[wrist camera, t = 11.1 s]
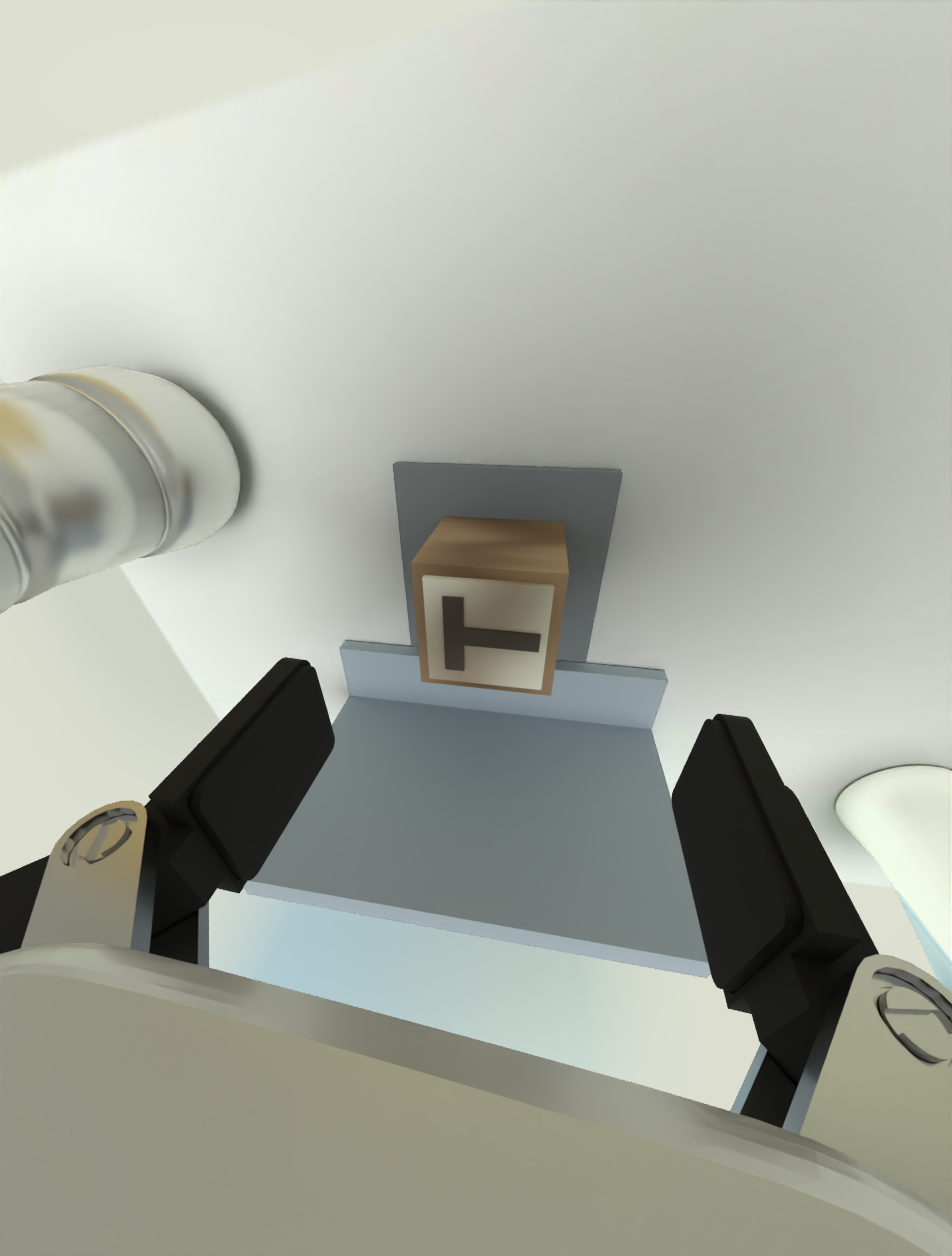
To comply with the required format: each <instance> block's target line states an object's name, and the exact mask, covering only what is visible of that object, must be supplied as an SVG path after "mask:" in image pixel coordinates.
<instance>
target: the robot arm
mask: <svg viewBox="0 0 952 1256" xmlns="http://www.w3.org/2000/svg"><path fill="white" fill-rule="evenodd" d="M334 744H335V736H334V732H333V729H332V725H331V722H330V718H329V715H328V711H327V708H326V704H325V701H324V697H323V694H322V690H321V687H320V683H319V680H318V676H317V673H316V670H315V668H314V667H311V665H310V663H309V662H308V661H307V660H301V659H293V658H286V657H285V658H282V659H281V660H279V661H278V662H277V663H276V664H275V665H274V666H273V668H272V669H271V670H270V671H269V672H268V673H267V674H266V675H265V676H264V677H263V678H262V679H261V680H260V681H259V682H258V683H257V684H256V685H255V686H254V687H253V688H252V689H251V690H250V691H249V692H248V693H247V694H246V695H245V697H244V698H243V699H242V700H241V701H240V702H239V703H238V704H237V705H236V706H235V707H234V708H233V709H232V710H231V711H230V712H229V713H228V714H227V715H226V716H225V717H224V718H223V719H222V720H221V721H220V722H219V723H218V725H217V726H216V727H215V728H214V729H213V730H212V731H211V732H210V733H209V734H208V735H207V736H206V737H205V738H204V739H203V740H202V741H201V742H200V743H199V744H198V745H197V746H196V747H195V748H194V749H193V751H191V752H190V754H189V755H188V756H187V757H186V758H185V759H184V760H183V761H182V762H181V763H180V764H179V765H178V766H177V767H176V768H175V769H174V770H173V771H172V772H171V773H170V775H168V776H167V777H166V778H165V779H164V780H163V782H161V784H160V785H159V786H158V787H157V788H156V789H155V790H154V791H153V792H152V793H151V794H150V795H149V798H150V799H151V800H150V801H149V802H148V803H147V804H146V805H145V806H143V805H142V804H141V803H138V802H135V801H119V802H115V803H112V804H108V805H105V806H103V807H101V808H99V809H97V810H94V811H93V812H91V813H89V814H88V815H86V816H85V817H83V818H81V819H80V820H79V821H77V822H76V823H75V824H74V825H73V826H71V827H70V828H69V829H68V830H67V831H66V832H65V833H64V834H63V836H62V837H61V838H60V839H59V840H58V842H57V843H56V844H55V846H54V848H53V850H52V852H51V854H50V855H49V856H46V857H44V858H42V859H39V860H37V861H35V862H32V863H30V864H28V865H26V866H23V867H21V868H19V869H17V870H14V871H12V872H10V873H7V874H5V875H3V876H0V1256H952V992H951V991H950V990H948V989H947V988H946V987H945V986H944V985H942V984H941V983H940V982H939V981H938V980H936V979H935V978H934V977H933V976H931V975H929V974H928V973H926V972H924V971H923V970H921V969H920V968H918V967H917V966H915V965H913V964H912V963H909V962H906V961H904V960H901V959H899V958H896V957H894V956H888V955H880V954H879V953H878V951H877V949H876V947H875V945H874V943H873V941H872V939H871V937H870V936H869V934H868V932H867V930H866V928H865V926H864V924H863V922H862V920H861V918H860V916H859V914H858V913H857V911H856V909H855V907H854V905H853V903H852V901H851V899H850V897H849V896H848V894H847V892H846V890H845V888H844V886H843V884H842V882H841V880H840V878H839V876H838V874H837V873H836V871H835V869H834V867H833V865H832V863H831V861H830V859H829V857H828V855H827V854H826V852H825V850H824V848H823V846H822V844H821V842H820V840H819V838H818V836H817V834H816V833H815V831H814V829H813V827H812V825H811V823H810V821H809V819H808V817H807V815H806V814H805V812H804V810H803V808H802V806H801V804H800V802H799V800H798V798H797V797H796V796H795V794H794V793H793V791H792V790H790V789H789V788H788V787H787V786H785V785H784V783H783V781H782V779H781V777H780V775H779V773H778V771H777V769H776V768H775V766H774V764H773V762H772V760H771V758H770V756H769V754H768V752H767V750H766V748H765V746H764V744H763V742H762V740H761V738H760V736H759V734H758V732H757V730H756V728H755V726H754V724H753V723H752V721H751V720H750V719H749V718H747V717H740V716H733V715H725V714H717V715H715V717H714V718H713V720H712V719H707V720H706V721H705V722H704V724H703V726H702V729H701V731H700V733H699V735H698V737H697V740H696V742H695V744H694V746H693V748H692V751H691V753H690V755H689V757H688V759H687V761H686V764H685V766H684V768H683V770H682V772H681V775H680V777H679V779H678V781H677V783H676V786H675V788H674V790H673V793H672V809H673V813H674V818H675V822H676V826H677V831H678V835H679V839H680V843H681V848H682V852H683V856H684V861H685V865H686V869H687V873H688V878H689V882H690V886H691V891H692V895H693V899H694V903H695V908H696V912H697V916H698V921H699V925H700V929H701V933H702V938H703V942H704V946H705V951H706V955H707V959H708V964H709V968H710V972H711V975H712V978H713V981H714V983H715V985H716V986H717V987H718V988H720V989H723V990H724V994H725V998H726V1002H727V1007H728V1009H733V1010H737V1011H742V1012H745V1013H750V1014H752V1017H753V1021H754V1024H755V1028H756V1031H757V1034H758V1038H759V1041H760V1043H761V1045H760V1046H759V1049H758V1051H757V1053H756V1056H755V1058H754V1060H753V1062H752V1064H751V1066H750V1069H749V1071H748V1073H747V1075H746V1078H745V1080H744V1082H743V1084H742V1086H741V1089H740V1091H739V1093H738V1095H737V1097H736V1100H735V1102H734V1104H733V1106H732V1109H731V1111H727V1110H724V1109H720V1108H717V1107H714V1106H710V1105H707V1104H704V1103H700V1102H697V1101H693V1100H690V1099H687V1098H683V1097H680V1096H676V1095H673V1094H670V1093H666V1092H663V1091H660V1090H656V1089H653V1088H650V1087H646V1086H643V1085H639V1084H636V1083H632V1082H628V1081H625V1080H621V1079H617V1078H614V1077H610V1076H607V1075H603V1074H599V1073H596V1072H592V1071H588V1070H585V1069H581V1068H577V1067H574V1066H570V1065H567V1064H563V1063H559V1062H556V1061H552V1060H549V1059H545V1058H541V1057H538V1056H534V1055H531V1054H527V1053H523V1052H520V1051H516V1050H512V1049H509V1048H505V1047H502V1046H498V1045H494V1044H491V1043H487V1042H483V1041H480V1040H476V1039H472V1038H469V1037H465V1036H461V1035H457V1034H453V1033H450V1032H446V1031H443V1030H439V1029H436V1028H432V1027H428V1026H424V1025H421V1024H417V1023H413V1022H410V1021H406V1020H402V1019H399V1018H395V1017H391V1016H388V1015H383V1014H380V1013H376V1012H373V1011H369V1010H365V1009H362V1008H358V1007H354V1006H351V1005H347V1004H343V1003H340V1002H336V1001H332V1000H328V999H324V998H321V997H317V996H313V995H310V994H306V993H302V992H298V991H294V990H291V989H287V988H283V987H279V986H275V985H272V984H268V983H264V982H261V981H257V980H253V979H249V978H246V977H242V976H238V975H234V974H230V973H227V972H223V971H219V970H216V969H212V968H209V899H210V898H211V896H212V895H213V893H214V892H215V890H216V889H217V888H218V889H223V890H227V891H231V892H235V893H240V892H241V890H242V889H243V887H244V886H245V884H246V882H247V881H248V880H252V879H253V878H254V877H255V876H256V875H257V874H258V872H259V871H260V869H261V868H262V866H263V864H264V863H265V861H266V859H267V858H268V856H269V854H270V853H271V851H272V850H273V848H274V846H275V845H276V843H277V841H278V840H279V838H280V836H281V835H282V833H283V831H284V830H285V828H286V826H287V825H288V823H289V821H290V820H291V818H292V816H293V815H294V813H295V812H296V810H297V808H298V807H299V805H300V803H301V802H302V800H303V798H304V797H305V795H306V793H307V792H308V790H309V788H310V787H311V785H312V783H313V782H314V780H315V779H316V777H317V775H318V774H319V772H320V770H321V769H322V767H323V765H324V764H325V762H326V760H327V759H328V757H329V755H330V754H331V752H332V750H333V748H334Z"/></svg>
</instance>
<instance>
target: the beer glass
mask: <svg viewBox="0 0 952 1256" xmlns="http://www.w3.org/2000/svg"><path fill="white" fill-rule="evenodd" d="M835 810H836V813H837V816H838V818H839V819H840V821H841V822H842V824H843V825H844V826H845V827H846V828H847V829H848V830H849V832H850V833H851V834H852V835H853V836H854V837H855V838H856V839H857V840H858V841H859V842H860V844H861V845H862V846H863V847H864V848H865V849H866V850H867V851H868V852H869V854H870V855H871V856H872V857H873V858H874V860H875V861H876V862H877V863H878V865H879V866H880V868H881V869H882V870H883V872H884V873H885V875H886V876H887V878H888V879H889V881H890V883H891V884H892V886H893V888H894V889H895V891H896V893H897V894H898V896H899V898H900V900H901V902H902V904H903V906H904V909H905V910H906V913H907V915H908V917H909V919H910V921H911V923H912V925H913V927H914V930H915V932H916V934H917V936H918V938H919V940H920V943H921V945H922V947H923V950H924V952H925V954H926V956H927V958H928V960H929V962H930V965H931V967H932V969H933V971H934V973H935V975H936V977H937V980H938V981H939V982H940V983H941V984H942V985H944V986H945V987H946V988H947V989H948V990H950V991H951V992H952V770H949V769H945V768H940V767H935V766H923V765H914V766H902V767H895V768H890V769H886V770H882V771H878V772H875V773H872V774H870V775H867V776H865V777H863V778H861V779H859V780H857V781H855V782H854V783H852V784H851V785H849V786H848V787H847V788H846V789H845V790H844V791H843V792H842V793H841V794H840V796H839V797H838V799H837V801H836V805H835Z"/></svg>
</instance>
